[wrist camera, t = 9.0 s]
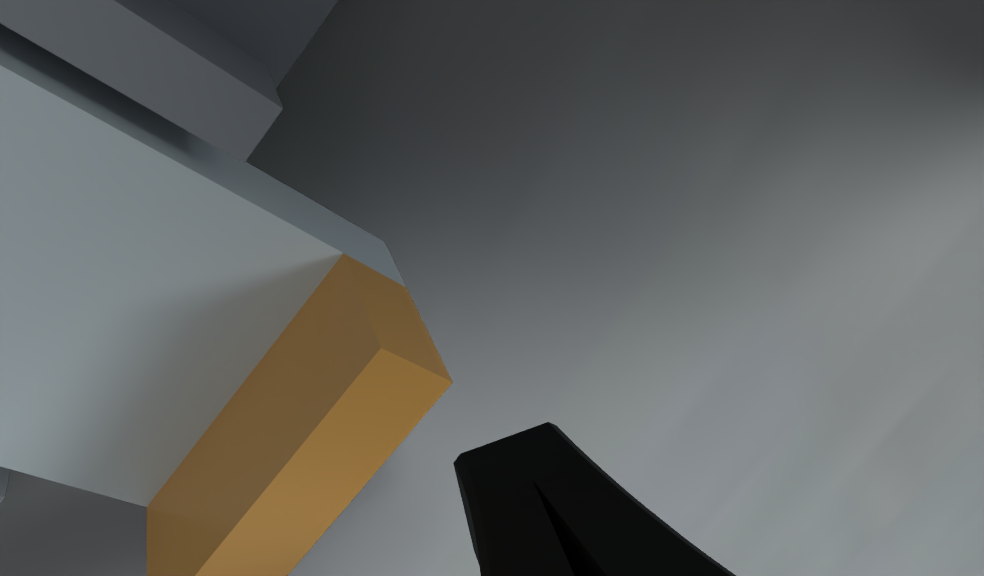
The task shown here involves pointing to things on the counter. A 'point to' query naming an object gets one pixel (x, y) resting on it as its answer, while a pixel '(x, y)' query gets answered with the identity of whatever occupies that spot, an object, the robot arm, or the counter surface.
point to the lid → (190, 329)
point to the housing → (180, 59)
